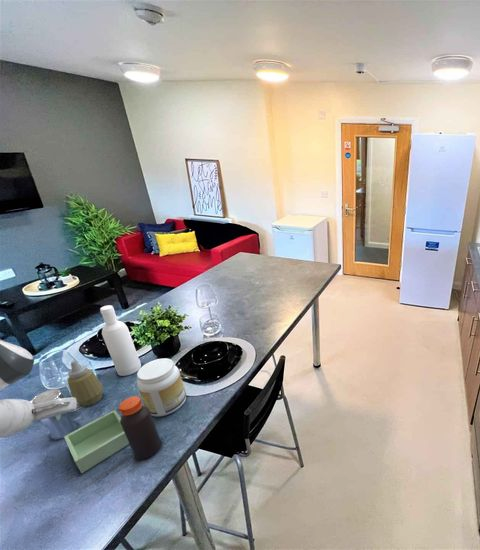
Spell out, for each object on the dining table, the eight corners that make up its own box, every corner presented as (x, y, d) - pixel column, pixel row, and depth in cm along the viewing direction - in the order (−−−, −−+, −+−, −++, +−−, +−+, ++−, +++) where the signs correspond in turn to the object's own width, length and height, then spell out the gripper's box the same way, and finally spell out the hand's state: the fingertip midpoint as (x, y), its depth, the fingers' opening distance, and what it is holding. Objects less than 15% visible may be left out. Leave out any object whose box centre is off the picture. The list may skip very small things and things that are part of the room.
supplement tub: (190, 388, 112) (180, 353, 105) (182, 413, 102) (171, 376, 95) (153, 395, 109) (140, 359, 102) (141, 422, 98) (127, 384, 91)
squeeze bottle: (102, 388, 111) (85, 350, 103) (109, 398, 106) (92, 360, 99) (73, 401, 105) (53, 362, 97) (80, 413, 100) (59, 373, 93)
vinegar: (138, 443, 91) (118, 397, 83) (163, 436, 94) (146, 390, 86) (132, 463, 86) (110, 416, 77) (159, 455, 88) (141, 408, 80)
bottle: (144, 368, 121) (122, 307, 108) (120, 379, 115) (95, 315, 103) (137, 360, 125) (116, 300, 113) (115, 369, 119) (89, 307, 107)
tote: (81, 473, 83) (74, 462, 81) (70, 447, 89) (63, 436, 87) (133, 441, 92) (129, 430, 90) (120, 420, 99) (115, 409, 97)
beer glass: (78, 418, 98) (61, 385, 92) (79, 432, 94) (61, 398, 88) (49, 430, 94) (29, 397, 88) (49, 445, 90) (27, 411, 83)
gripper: (63, 390, 78) (86, 392, 89) (-54, 421, 68) (-12, 418, 80) (64, 414, 76) (87, 413, 88) (-56, 449, 67) (-12, 443, 78)
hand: (39, 416), depth 84 cm, fingers open, 8 cm apart
